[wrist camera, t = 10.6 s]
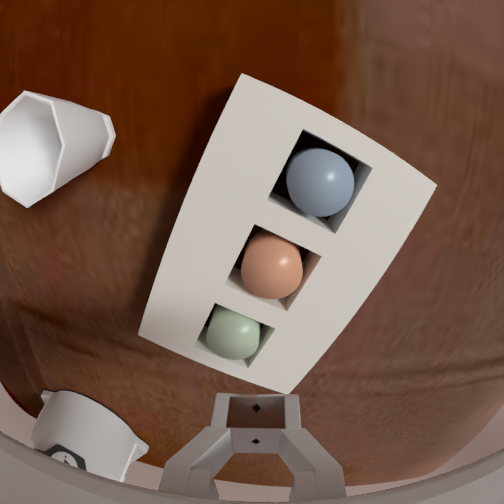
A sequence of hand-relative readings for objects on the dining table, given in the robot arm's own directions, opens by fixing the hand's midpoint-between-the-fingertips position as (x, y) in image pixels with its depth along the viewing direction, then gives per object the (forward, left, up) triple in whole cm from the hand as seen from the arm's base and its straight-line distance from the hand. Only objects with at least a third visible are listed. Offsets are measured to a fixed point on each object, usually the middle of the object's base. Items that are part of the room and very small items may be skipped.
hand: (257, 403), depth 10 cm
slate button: (+7, 0, -13) cm, 15 cm away
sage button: (-6, 0, -13) cm, 15 cm away
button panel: (0, 0, -14) cm, 14 cm away
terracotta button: (0, 0, -13) cm, 13 cm away
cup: (+2, +18, -14) cm, 23 cm away
